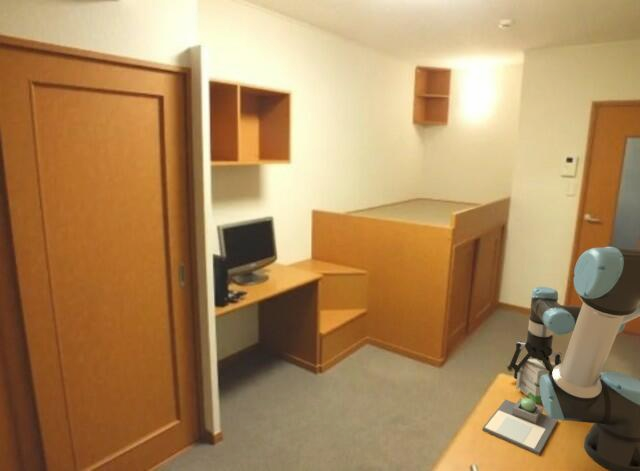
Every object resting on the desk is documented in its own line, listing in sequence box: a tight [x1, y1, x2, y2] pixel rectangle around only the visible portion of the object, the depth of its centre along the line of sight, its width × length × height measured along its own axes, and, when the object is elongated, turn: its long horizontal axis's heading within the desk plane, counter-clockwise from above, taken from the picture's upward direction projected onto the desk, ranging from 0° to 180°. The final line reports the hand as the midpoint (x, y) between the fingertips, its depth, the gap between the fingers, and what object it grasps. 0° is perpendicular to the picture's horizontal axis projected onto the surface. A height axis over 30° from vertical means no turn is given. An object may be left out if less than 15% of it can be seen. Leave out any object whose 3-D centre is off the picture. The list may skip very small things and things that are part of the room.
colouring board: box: [482, 398, 558, 456], centre depth 131 cm, size 16×20×3 cm
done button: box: [521, 397, 537, 413], centre depth 136 cm, size 4×4×3 cm
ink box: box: [519, 358, 549, 404], centre depth 146 cm, size 9×5×12 cm, turn 8°
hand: (533, 393), depth 147 cm, fingers closed on ink box, 9 cm apart
